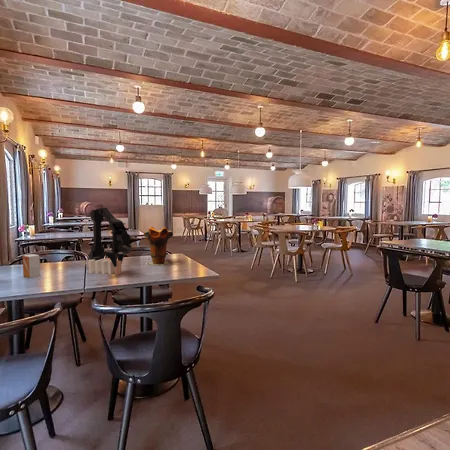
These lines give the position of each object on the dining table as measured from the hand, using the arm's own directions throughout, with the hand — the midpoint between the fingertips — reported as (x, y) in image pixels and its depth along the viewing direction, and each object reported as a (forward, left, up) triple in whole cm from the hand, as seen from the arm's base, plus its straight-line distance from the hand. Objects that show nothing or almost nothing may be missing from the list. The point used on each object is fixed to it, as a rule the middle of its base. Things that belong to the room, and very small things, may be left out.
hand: (117, 265), depth 200 cm
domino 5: (0, 0, -5) cm, 5 cm away
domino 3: (0, -9, -5) cm, 10 cm away
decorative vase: (-36, +12, -5) cm, 38 cm away
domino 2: (0, -13, -5) cm, 14 cm away
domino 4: (0, -4, -5) cm, 7 cm away
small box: (+16, -48, -5) cm, 51 cm away
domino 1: (0, -18, -5) cm, 19 cm away
